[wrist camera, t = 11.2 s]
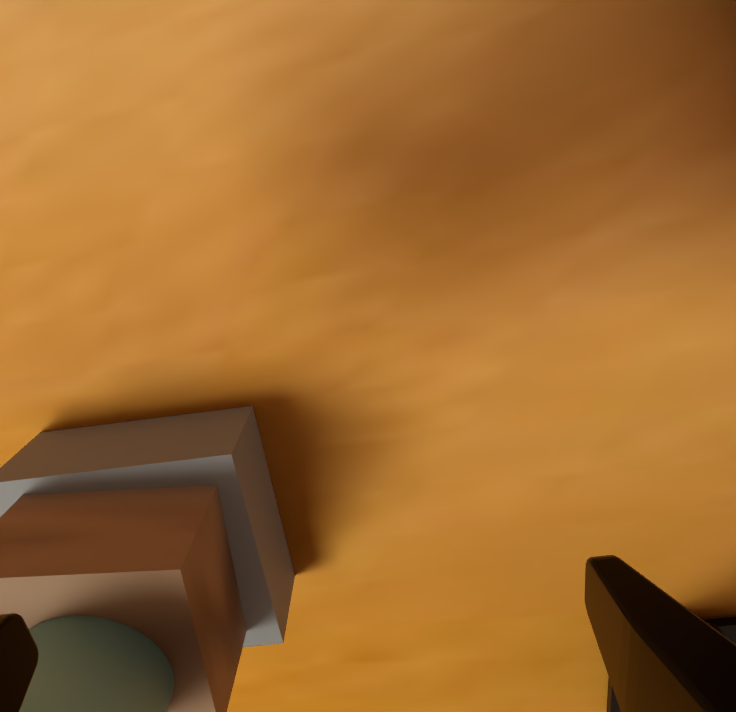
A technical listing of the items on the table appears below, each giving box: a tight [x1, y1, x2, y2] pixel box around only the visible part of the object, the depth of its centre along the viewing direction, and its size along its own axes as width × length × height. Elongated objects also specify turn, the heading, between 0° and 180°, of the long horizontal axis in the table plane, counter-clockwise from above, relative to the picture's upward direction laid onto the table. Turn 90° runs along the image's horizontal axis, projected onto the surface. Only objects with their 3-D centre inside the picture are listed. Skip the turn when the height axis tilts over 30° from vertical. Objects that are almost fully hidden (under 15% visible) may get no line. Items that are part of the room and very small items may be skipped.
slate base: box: [0, 406, 295, 647], centre depth 22 cm, size 9×9×4 cm
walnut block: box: [0, 485, 247, 712], centre depth 18 cm, size 7×7×4 cm
